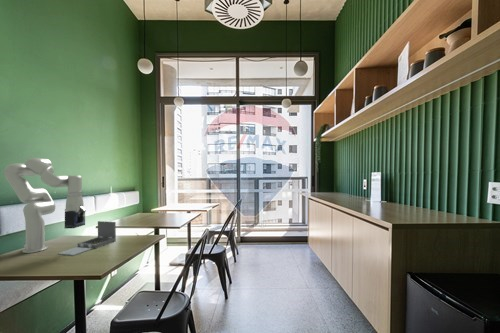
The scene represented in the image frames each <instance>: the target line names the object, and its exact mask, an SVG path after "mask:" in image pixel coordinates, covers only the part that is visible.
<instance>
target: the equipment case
mask: <svg viewBox="0 0 500 333" xmlns="http://www.w3.org/2000/svg"><path fill="white" fill-rule="evenodd" d="M116 226H117V225H116V221H100V220H99V221H97V237H95V238H94V237H93V238H92V239H91V238H90V239H88V240H85V241H80V242H78V243H77V247H85V248H93V249H98V248H101V247H104V246H106V245H110V244H112V243H114V242H117V238H116V236H117V234H116V232H117V231H116V228H117V227H116ZM96 242H98V243H96Z"/></svg>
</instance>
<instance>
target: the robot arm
mask: <svg viewBox="0 0 500 333" xmlns="http://www.w3.org/2000/svg"><path fill="white" fill-rule="evenodd" d="M54 172H55V168H54V166H53V163H52V161H51V160H50V159H48V158H44V157H43V158H42V157H31V158H28V159H26V160H25V162H24V163H23V162H21V163H20V162H17V163H11V164H8V165H6V166H5V168H4V174H3V175H4V178H5V180H6V181H7V182H8V184H9V185H10V186H11V187H12V189H13V191H14V193H15V194H16V196H17V198H18V199H19V201H20V202H21V203H24V204H25V205H24V206H23V209H22V212H23V216H24V222H25V244H23V246H22V247H25V248H24V249H23V250H22V253H23V254H31V253H32V254H33V253H38V252H42V251H45V250H47V249H48V248H49V246H48V245H45V244H46V242H45V240H46V239H45V237H46V235H45V232H46V231H45V229H46V227H45V220H44V219H43V217H42V216H46V215H50V214H53V213H54V212H55V211H56V204H55V201H54V199H53V198H52V196H51V195H50V194H49V192H48V190H46V189H45V188H44V187H33V186H32V185H31V184H30V182H29V180H27V179H26V178H24V177H30V176H37V175H38V176H40V179H41V182H42V183H44V184H45V185H47V186H49V187H51V188H67V197H66V200H65V208H64V213H65V212H66V211H75V212H76V213H78V217H77V223H81V222H83V215H84V213H85V214H86V211H87V210H86V209H85V207H84V206H85V205H84V198H83V177H82V175H66V174H65V175H55V174H54ZM79 213H80V214H79Z"/></svg>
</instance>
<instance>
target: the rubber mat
mask: <svg viewBox="0 0 500 333" xmlns="http://www.w3.org/2000/svg"><path fill="white" fill-rule="evenodd" d="M93 249H94V248H85V247H78V246H76V247H72V248H70V249H67V250H64V251H60V252H58V253H57V255H63V256H73V257H74V256H77V255H79V254H83V253H86V252H88V251H91V250H93Z"/></svg>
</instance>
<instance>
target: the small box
mask: <svg viewBox="0 0 500 333" xmlns="http://www.w3.org/2000/svg"><path fill="white" fill-rule="evenodd" d="M79 214H80V213H79ZM77 217H78V213H76V212H75V211H66V212H65V211H64V229H76V228H79V227H83V226H86V212H85V213H84V215H83V222H81V223H77Z"/></svg>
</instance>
